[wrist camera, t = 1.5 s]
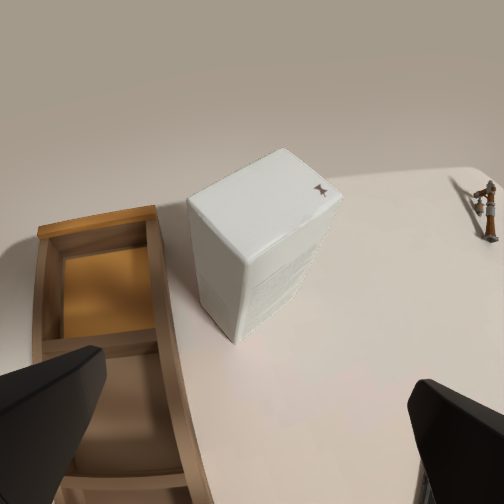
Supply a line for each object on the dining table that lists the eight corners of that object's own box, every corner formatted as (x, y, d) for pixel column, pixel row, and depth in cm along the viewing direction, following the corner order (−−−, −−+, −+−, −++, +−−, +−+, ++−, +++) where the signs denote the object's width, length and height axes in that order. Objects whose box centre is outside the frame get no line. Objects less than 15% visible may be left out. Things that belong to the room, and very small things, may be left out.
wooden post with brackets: (479, 190, 34) (498, 180, 29) (478, 246, 32) (500, 240, 28) (470, 186, 34) (489, 176, 29) (469, 243, 32) (491, 236, 28)
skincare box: (257, 261, 25) (285, 143, 15) (294, 298, 24) (349, 194, 14) (196, 304, 23) (182, 195, 13) (233, 348, 21) (249, 267, 11)
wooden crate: (237, 570, 12) (242, 599, 8) (110, 574, 10) (90, 597, 6) (163, 240, 25) (154, 204, 21) (60, 257, 23) (38, 226, 19)
